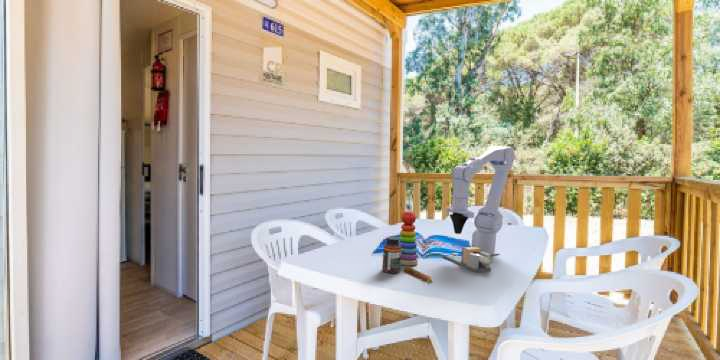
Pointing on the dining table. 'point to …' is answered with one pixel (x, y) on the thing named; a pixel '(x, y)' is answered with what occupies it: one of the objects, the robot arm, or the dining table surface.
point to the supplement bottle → (392, 255)
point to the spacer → (468, 250)
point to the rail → (458, 260)
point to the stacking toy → (408, 240)
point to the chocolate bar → (418, 274)
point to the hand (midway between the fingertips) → (457, 233)
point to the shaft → (482, 259)
